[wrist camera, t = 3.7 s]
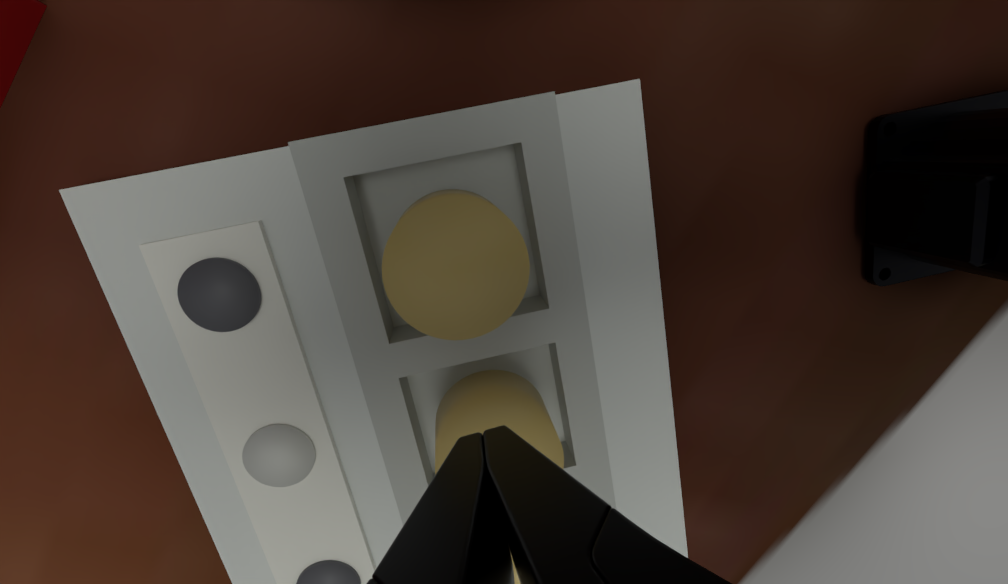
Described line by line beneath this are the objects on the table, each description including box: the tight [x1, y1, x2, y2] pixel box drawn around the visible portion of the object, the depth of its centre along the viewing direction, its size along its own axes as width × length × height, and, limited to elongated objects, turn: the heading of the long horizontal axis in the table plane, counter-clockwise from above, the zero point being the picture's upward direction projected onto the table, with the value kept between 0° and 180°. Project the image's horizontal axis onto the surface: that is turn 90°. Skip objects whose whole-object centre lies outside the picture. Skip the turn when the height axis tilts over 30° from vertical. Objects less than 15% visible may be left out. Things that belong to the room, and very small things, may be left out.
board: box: [59, 79, 688, 584], centre depth 18 cm, size 18×20×3 cm
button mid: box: [435, 370, 564, 475], centre depth 16 cm, size 4×4×3 cm
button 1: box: [382, 189, 530, 340], centre depth 14 cm, size 4×4×3 cm
